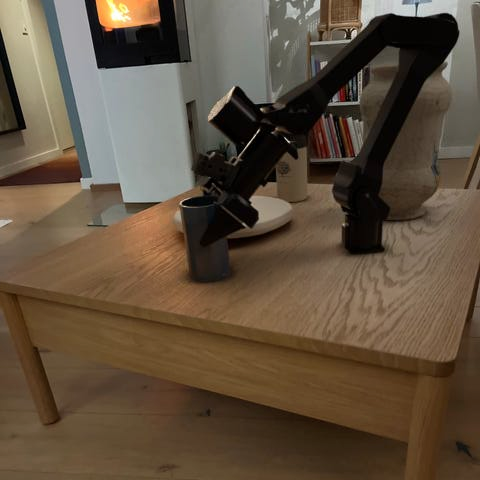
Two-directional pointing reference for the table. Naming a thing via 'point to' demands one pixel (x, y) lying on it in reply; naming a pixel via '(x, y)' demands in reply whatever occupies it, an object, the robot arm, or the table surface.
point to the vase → (409, 141)
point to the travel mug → (292, 172)
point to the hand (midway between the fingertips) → (197, 238)
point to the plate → (270, 216)
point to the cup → (194, 226)
